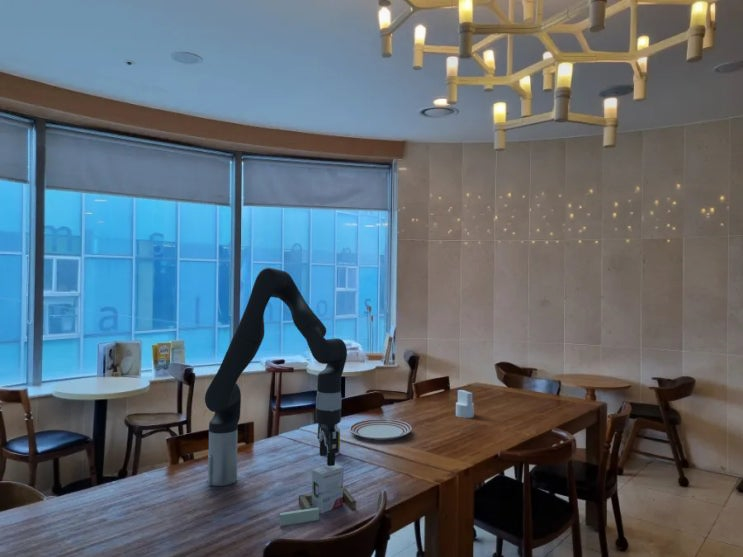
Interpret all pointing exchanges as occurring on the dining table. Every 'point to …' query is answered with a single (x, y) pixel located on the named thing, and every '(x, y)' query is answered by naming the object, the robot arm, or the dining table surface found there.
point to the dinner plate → (380, 429)
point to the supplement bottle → (338, 439)
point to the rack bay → (307, 500)
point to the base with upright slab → (464, 404)
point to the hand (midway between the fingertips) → (327, 460)
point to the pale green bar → (299, 516)
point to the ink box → (327, 487)
